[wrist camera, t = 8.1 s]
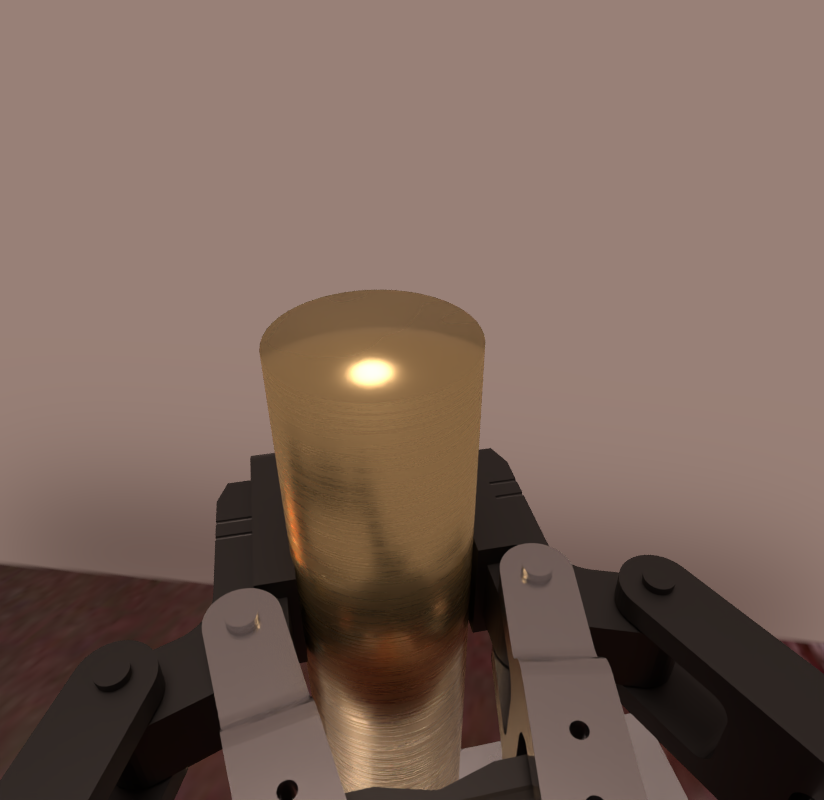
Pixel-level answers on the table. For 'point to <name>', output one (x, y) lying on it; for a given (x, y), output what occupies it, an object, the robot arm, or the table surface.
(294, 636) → the robot arm
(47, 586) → the table surface
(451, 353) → the brass pin
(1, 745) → the table surface
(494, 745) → the bolted metal plate
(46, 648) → the table surface
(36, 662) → the table surface
